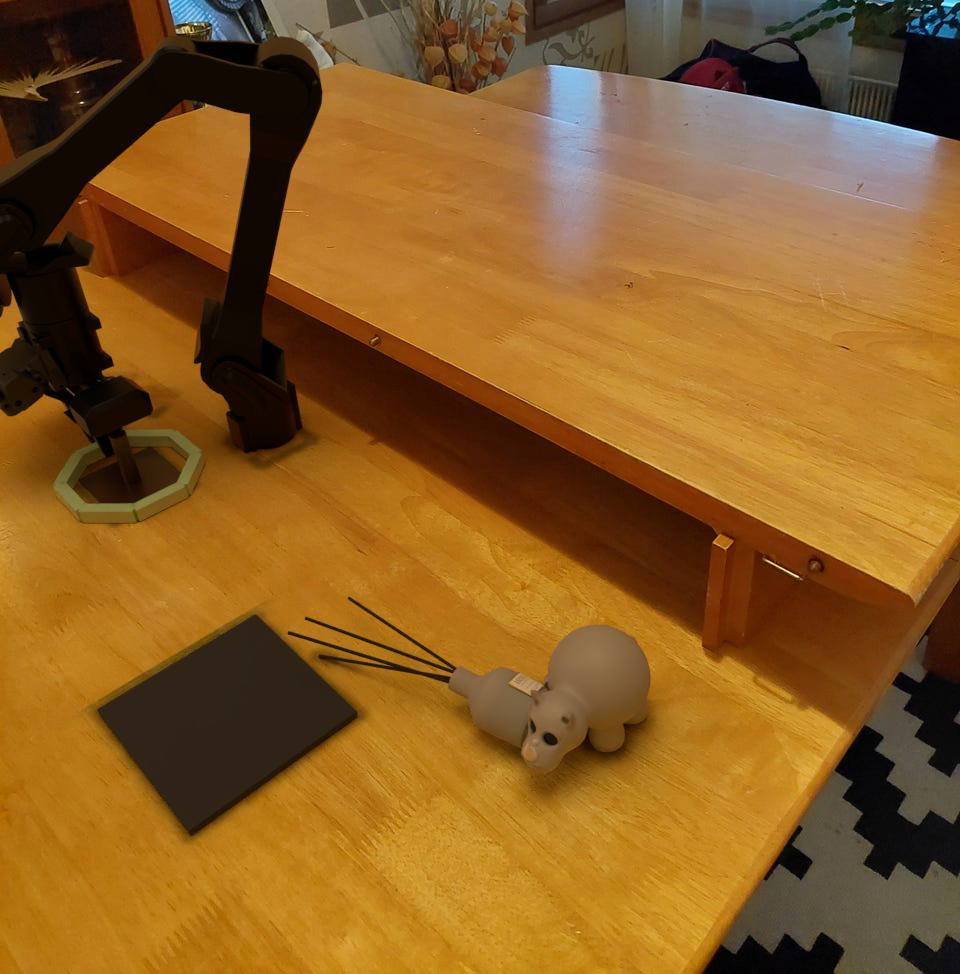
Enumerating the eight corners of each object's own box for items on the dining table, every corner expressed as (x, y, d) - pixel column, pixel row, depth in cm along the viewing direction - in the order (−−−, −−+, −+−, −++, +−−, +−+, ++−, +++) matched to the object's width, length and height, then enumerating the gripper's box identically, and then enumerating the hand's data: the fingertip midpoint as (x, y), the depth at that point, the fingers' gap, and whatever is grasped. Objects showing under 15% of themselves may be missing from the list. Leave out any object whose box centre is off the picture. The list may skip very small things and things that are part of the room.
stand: (153, 453, 96) (136, 400, 92) (191, 486, 92) (175, 433, 88) (79, 487, 92) (59, 434, 88) (115, 524, 88) (95, 470, 84)
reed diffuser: (529, 722, 61) (287, 597, 67) (502, 805, 63) (271, 677, 70) (583, 663, 69) (364, 558, 76) (557, 738, 72) (347, 630, 79)
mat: (257, 618, 77) (255, 613, 77) (358, 716, 69) (357, 711, 69) (99, 714, 70) (96, 709, 70) (191, 835, 62) (188, 830, 62)
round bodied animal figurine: (483, 765, 66) (479, 687, 60) (586, 665, 72) (591, 588, 67) (563, 826, 62) (566, 749, 56) (664, 715, 68) (675, 636, 63)
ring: (161, 425, 99) (158, 414, 98) (225, 478, 91) (222, 467, 90) (40, 479, 92) (35, 468, 91) (98, 542, 84) (94, 531, 83)
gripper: (-71, 307, 86) (-11, 443, 96) (6, 382, 75) (65, 527, 85) (46, 268, 92) (92, 401, 101) (133, 333, 81) (175, 474, 91)
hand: (103, 448), depth 94 cm, fingers open, 3 cm apart
